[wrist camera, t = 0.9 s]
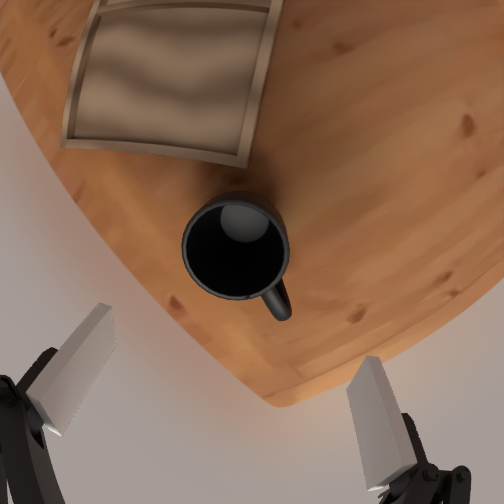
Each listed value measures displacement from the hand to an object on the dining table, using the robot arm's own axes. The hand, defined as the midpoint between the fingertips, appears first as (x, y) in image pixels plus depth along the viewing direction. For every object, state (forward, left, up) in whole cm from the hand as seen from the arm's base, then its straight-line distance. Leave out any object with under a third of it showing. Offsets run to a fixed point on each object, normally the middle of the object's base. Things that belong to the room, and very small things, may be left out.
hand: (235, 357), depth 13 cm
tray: (-22, -13, -19) cm, 32 cm away
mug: (0, 0, -19) cm, 19 cm away
